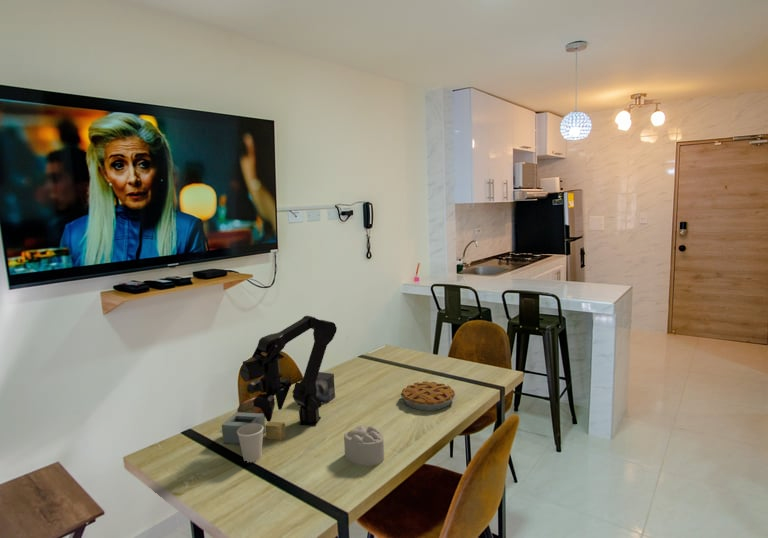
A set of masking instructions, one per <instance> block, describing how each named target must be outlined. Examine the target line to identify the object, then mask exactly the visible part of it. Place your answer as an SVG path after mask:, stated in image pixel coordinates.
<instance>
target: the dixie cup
mask: <svg viewBox="0 0 768 538" xmlns="http://www.w3.org/2000/svg"><path fill="white" fill-rule="evenodd" d="M263 429H264V427H263V426H262V425H261V424H257V423H252V424H247V425H244V426H242V427H240V428H239V429H238V430H237V434H238V437H239V441H240V445H239V446H240V450H241V453H242V457H243V461H244V462H245V461H247V462H246V463H249V462H250V463H253V462H252V461H256V460H258V459H259V460H260V458H262V457H263V456H262V455H263V454H262V451H263V435H264V434H263ZM261 456H262V457H261ZM259 460H258V461H259ZM256 462H257V461H256Z"/></svg>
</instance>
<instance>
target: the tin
mask: <svg viewBox="0 0 768 538" xmlns="http://www.w3.org/2000/svg"><path fill="white" fill-rule="evenodd" d="M256 397H257V396H254V397H252V398H250V399H246V400H243V401H242V402H241V403H240V404H239V406H238V407H237V411H236V412H241V413H259V414H264V413H263V411H262V409H261V408H258V407H254V406H253V400H254V399H255V398H256ZM274 403H276V402H275V401H274ZM275 406H276V404H275V405H274V407H275ZM274 409H275V408H274ZM274 409H273V411H274ZM264 418H266V417H265V415H264Z"/></svg>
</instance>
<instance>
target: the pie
mask: <svg viewBox="0 0 768 538" xmlns="http://www.w3.org/2000/svg"><path fill="white" fill-rule="evenodd" d="M400 397H401V398H402V399H403V401H404V402H405V404H406V405H407V406H408V407H410V408H413V409H416V410H420V411H424V412H425V411H426V412H431V411H437V410H442V409H444V408H446V407H448V406H449V405H451V403H452V401H453V400H454V399H455V397H456V392H455V389H452V387H451V386H450V385H446V384H445V383H437V382H436V381H432V382H428V381H422V382H414V383H413V384H408V385H407V386H406V387H403V388H402V391H401V393H400Z"/></svg>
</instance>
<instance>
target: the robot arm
mask: <svg viewBox="0 0 768 538" xmlns="http://www.w3.org/2000/svg"><path fill="white" fill-rule="evenodd" d="M310 329H311V330H313V332H312V333H313V334H312V335H313V341H314V342H313V345H312V348H311V351H310V355H309V358H308V361H307V363H306V364H307V365H306V368H305V371H304V374H303V377H302V379H301V380H300V381H299V382H297V381H296V382H295V383H294V388H293V390H292V392H291V393H292V399H293V401H294V402H296V404H297V406H300V407H299V410H298V417H299V423H298V425H302V426H316V425H317V424H318V423H319V421H320V420H321V418H322V417H321V416H320V409H319V408H322V403H323V402H322V401H321V400H320V399H318V398H317V397H316V394H317V388H316V379H317V376H318V373H319V372H320V370H321V366H322V362H323V360H324V357H325V353H326V349H327V347H328V345H329V344H330V343H331V342H332V341H333V339H334V338H335V335H336V333H337V330H338V329H337V326H336V324H335V322H334V321H330V320H325V319H318V318H316V317H315V316H311V315H305V316H303V317H302V318H301V319H299V320H297V321H296V322H294V323H293V324H291V325H288V326H287V327H286V328H284V329H282V330H281V331H278V332H276V333H271V334H267V335H264V336H262V337H261V338H259V340H258V343H257V346H256V348H255V350H254V352H253V354H252V359H249V360H244V361H242V365H241V366H240V370H239V374H240V377H241V379H242V381H244V382H245V383H248V382H249V383H248V384H247V385H246V392H247V393H249V394H251V395H254V394H255V393H258V392H259V394H258V395H257V396H255V397H256V398H255V397H254V398H255V399H254V400H253V406H254V407H258V408H261V409H262V411H263V413H264V415H265V417H264V418H265V420H266V421H267V422H272V417H273V414H274V410H273V409H275V406H276V405H277V409H278V410H282V409H283V407H284V403H285V401H286V398H287V395H288V394H289V391H290V389H291V388H290V387H292V381H291V380H290V378H282V377H283V373H281V372H280V359H283V358H285V355H283V354H282V353H280V352H281V351H283V350H284V349H285V347H286V344H288V343H289V342H291V341H293V340H294V339H296V338H298V337H299V336H301V335H302V334H304V333H306V332H307V331H309V330H310ZM262 353H263V354H262ZM264 354H265V355H264ZM251 381H252V382H251ZM264 393H265V394H264ZM275 399H276V402H275ZM274 402H275V403H276V404H275V403H274ZM274 405H275V406H274Z"/></svg>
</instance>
